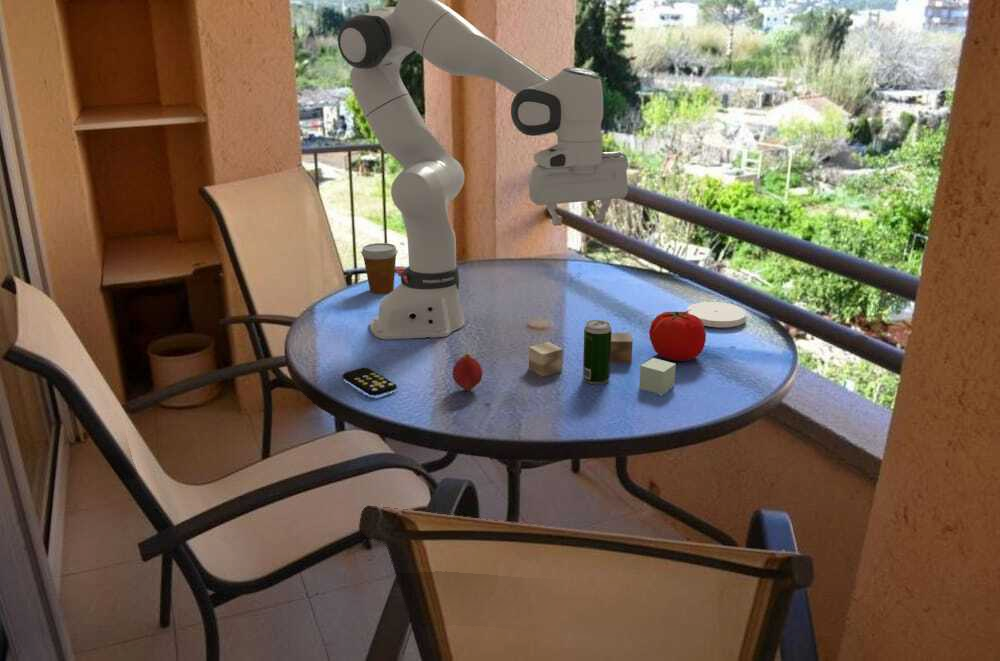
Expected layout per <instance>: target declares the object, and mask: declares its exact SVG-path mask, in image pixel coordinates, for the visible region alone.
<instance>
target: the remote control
mask: <svg viewBox="0 0 1000 661" xmlns="http://www.w3.org/2000/svg"><path fill="white" fill-rule="evenodd" d="M343 379H345V380H346V381H348V382H350V383H351V384H353V385H355V386H356V387H358V388H360V389H361V390H363V391H364V392H366V393H368V394H369V395H374V396H376V395H381V394H384V393H388V392H391V391H394V390H396V389H397V387H398V386H397V384H396V383H394V382H393V381H391V380H389V379H388V378H386V377H384V376H383V375H381V374H380V373H377V372H375V371H374V370H372V369H370V368H369V367H359V368H357V369H352V370H349V371H347V372H345V373H343V374H342V380H343ZM397 390H398V389H397Z"/></svg>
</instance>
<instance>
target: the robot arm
mask: <svg viewBox="0 0 1000 661" xmlns="http://www.w3.org/2000/svg"><path fill="white" fill-rule="evenodd" d="M337 34H338V35H337V44H338V50H339V53H340V55H341V56H342V58H343V60H344V61H345V62H346V63H347V64H349V65H350V66H351V67H352V69H351V70H350V74H349V82H350V84H351V86H352V87H351V89H352V91H353V93H354V97H355V99H356V102H357V103H358V105H359V108H360V109H361V112H362V114H363V116H364V118H365V119H366V122H367V123H368V125H369V127H370V129H371V130H372V133H373V135H374V136H375V138H376V140H377V141H378V143H379V145H380V147H381V149H382V150H383V151H384V152H385V153H387V154H388V155H390V156H391V157H392V158H393V159H394V160H395V161H397V163H398V164H399V166H401V168H402V170H401V171H400V173H398V175H397V176H396V177H395V179H394V180H393V182H392V184H391V189H390V194H391V195H390V196H391V199H392V202H393V204H394V206H395V207H396V208H397V209H398V210H399V211H400V213H401V217H402V220H403V224H404V228H405V232H406V239H407V254H408V266H407V267H406V268H404V267H403V266H398V267H397V268H395V271H396V272H395V273H396V274H397V276H398V277H400V284H399V285H397V287H394V290H393V291H392V292H390V293H387V294H386V295H385V296H384V297H383V298H382V300H381V301H380V304H379V309H378V315H377V316H373V318H371V320H370V321H369V330H370V332H371V334H373V335H374V336H375V337H376V338H378V339H381V340H401V339H402V340H404V339H405V340H406V339H424V338H425V339H426V337H430V338H443V337H448V336H449V335H451V333H453V332H454V331H456V330H460V329H461V328H463V326H464V325H465V324H466V321H465V318H464V315H463V311H462V308H461V302H460V295H459V290H460V289H459V287H460V271H459V266H458V265H457V241H456V237H457V236H456V233H455V231H454V229H453V228H452V226H451V222H450V219H449V215H448V208H447V205H448V203H449V202H450V201H452V200H454V199H455V198H456V197H457V196H458V195H459V193H461V190H462V188H463V186H464V184H465V179H466V178H465V176H466V175H465V171H464V168H463V166H462V164H461V163H460V162H459V161H458V160H457V159H455V158H454V157H452V155H450V154H449V153H448V151H447V150H446V149H445V147H443V145H442V144H441V143H440V142H439V140H438V139H437V138H436V136H435V135H434V134H433V133H432V131H431V129H429V127H428V126H427V124H426V123H425V120H424V119H423V117H422V116H421V113H420V112H419V110H418V108H417V105H415V103H414V102H415V101H414V100H413V98H412V97H411V95H410V93H409V90H408V89H407V88H406V86H405V84H404V83H403V80H402V78H401V75H400V68H401V66H402V65H404V66H405V65H409V63H410V62H411V60H412V59H413V57H414V56H415V55H416V54H418V55H420V56H421V57H422V58H424V60H426V61H427V62H429V63H430V64H432V66H435V68H437V69H439V70H442V71H444V72H445V73H448V74H450V75H452V76H459V77H460V76H461V77H472V78H474V77H476V78H481V79H486V80H490V81H492V82H495V83H497V84H499V85H501V86H503V87H504V88H505V89H507V90H509V91H510V92H511V93H512V94H514V95H515V96H514V97H513V99H512V102H511V106H510V115H511V116H510V118H511V120H512V123H513V125H514V126H515V128H516V129H517V130H518V131H519V132H520V133H522V134H523V135H526V136H530V137H541V136H544V135H549V134H555V135H556V136H557V140H556V141H557V143H556V144H555V145H552V146H550V147H548V148H544V149H543V150H541V151H537V152H536V153H534V154H533V155H534V156H533V161H534V163H535V164H536V166H533V168H532V170H531V173H530V177H529V178H530V180H529V187H528V188H529V189H528V190H529V194H528V195H529V199H530V201H531V202H532V203H533V204H534V205H537V206H546V209H547V211H548V213H549V214H550V216H551V223H552V224H551V225H553V226H555V227H556V226H562V225H563V217H562V215H559V214H557V212H556V210H557V208H558V204H568V203H569V204H570V203H580V202H581V203H582V202H583V203H584V202H592V201H593V202H594V201H595V202H596V201H599V202H600V203H601V206H600V208H599V210H598V211H595V212H594V213H595V214H594V215H595V217H594V218H595V219H594V220H595V221H596V222H598V223H599V222H606V213H607V212H608V210H609V208H610V207H611V205H612V204H611V203H612V200H617V199H624V198H626V197H627V195H628V193H629V185H628V184H629V182H628V174H627V170H628V163H629V162H628V157H627V155H626V154H624V153H622V151H613V152H612V151H611V152H610V151H609V152H608V151H607V152H606V151H605V152H603V139H604V138H603V133H602V128H601V127H602V121H603V118H604V92H603V84H602V80H601V77H600V75H598V73H596V72H595V71H593V70H590V69H586V68H582V67H565V68H563V69H561V70H560V72H559V71H558V72H559V73H557V74H556V75H554V76H552V77H548V76H545V75H544V74H542V73H540V71H537V70H536V69H535V68H533V67H532V66H530V64H529V65H528V63H526V62H524V61H522V60H521V59H520V58H518V57H517V56H516V55H514V54H512V53H511V52H509V51H507V50H506V49H505V48H503V47H502V46H500V45H499V44H497V42H495V41H494V40H492V39H491V38H490V37H488V36H487V35H486V34H484V33H483V32H481V31H480V30H479V29H478V28H477V27H476V26H474V25H473V24H472V23H470V22H469V21H468V20H467V19H465V18H464V17H463V16H462V15H460V14H459V13H458V12H456V11H454V10H453V9H452V8H451V7H449V6H447V5H446V4H445V3H443V2H441V1H439V0H398V2H397V3H396V5H392V6H386V7H380V8H376V9H373V10H371V11H367V12H365V13H362V14H359V15H358V14H357V15H355V16H353V17H352V16H351V17H350V18H349V19H347V20H346V21H345V22H344V23H343V24H342V25H341V26H340V28H339V29H338V32H337Z"/></svg>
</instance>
